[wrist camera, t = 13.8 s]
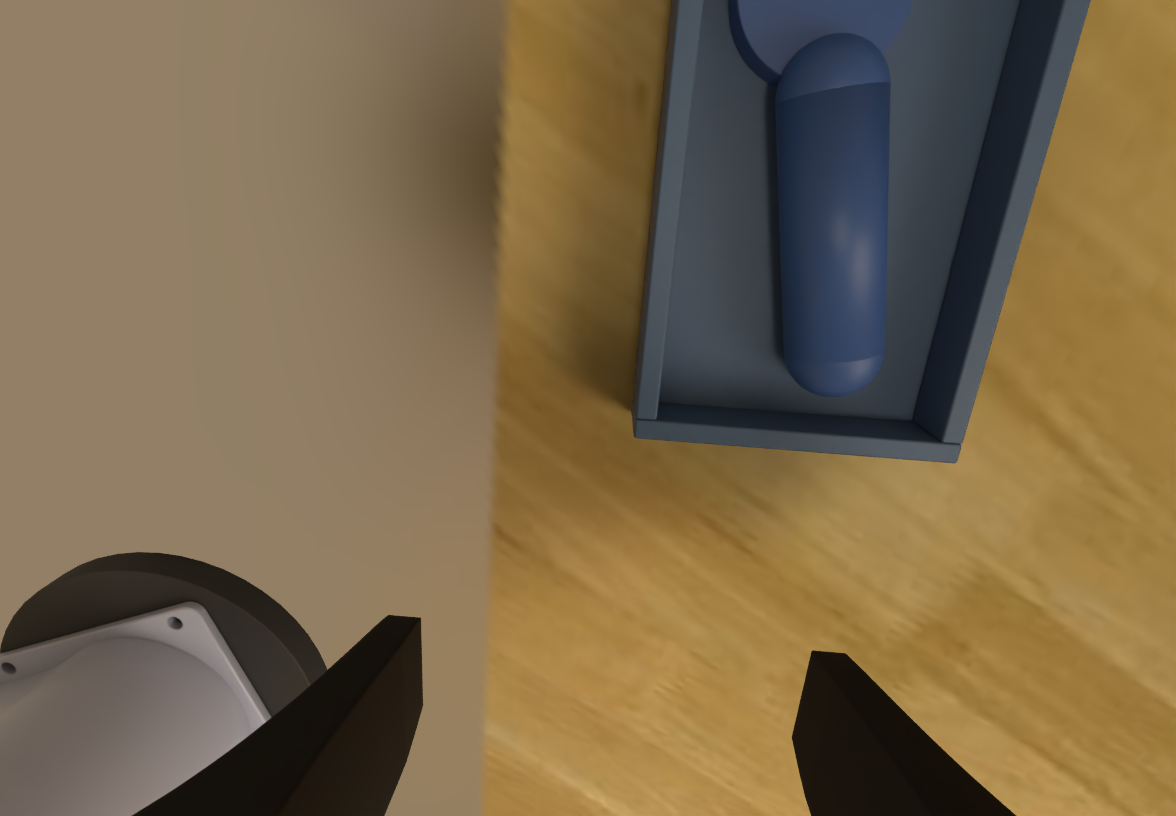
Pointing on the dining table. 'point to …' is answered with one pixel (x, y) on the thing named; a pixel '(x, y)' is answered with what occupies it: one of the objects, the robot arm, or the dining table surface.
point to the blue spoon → (828, 176)
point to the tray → (915, 231)
